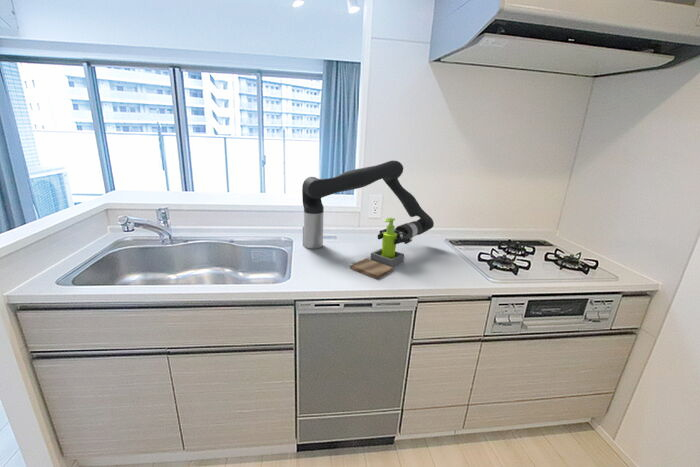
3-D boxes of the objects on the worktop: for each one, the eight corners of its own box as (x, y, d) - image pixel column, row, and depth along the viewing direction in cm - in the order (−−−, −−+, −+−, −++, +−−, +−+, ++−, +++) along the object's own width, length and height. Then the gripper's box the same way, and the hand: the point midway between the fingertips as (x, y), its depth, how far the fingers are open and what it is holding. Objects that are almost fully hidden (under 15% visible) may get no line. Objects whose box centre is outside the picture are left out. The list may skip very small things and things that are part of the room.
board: (350, 268, 132) (350, 265, 132) (366, 261, 140) (366, 258, 140) (377, 279, 124) (377, 275, 123) (392, 270, 132) (393, 267, 131)
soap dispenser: (376, 262, 140) (380, 218, 134) (386, 258, 145) (389, 215, 139) (387, 266, 136) (391, 221, 130) (396, 262, 141) (401, 218, 135)
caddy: (370, 261, 140) (370, 253, 139) (383, 255, 147) (383, 247, 146) (391, 269, 133) (391, 260, 132) (403, 262, 141) (404, 254, 140)
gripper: (393, 220, 151) (373, 227, 139) (420, 227, 142) (401, 235, 130) (392, 235, 153) (372, 243, 141) (418, 243, 144) (399, 252, 132)
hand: (386, 239), depth 136 cm, fingers open, 8 cm apart
